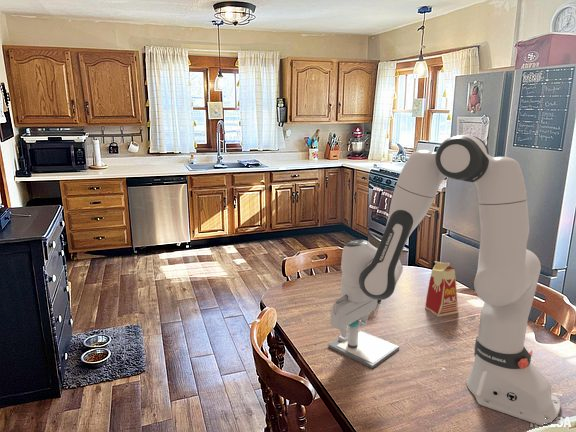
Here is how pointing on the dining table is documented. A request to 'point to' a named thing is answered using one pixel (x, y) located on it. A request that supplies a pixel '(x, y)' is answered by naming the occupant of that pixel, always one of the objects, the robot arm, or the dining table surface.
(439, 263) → the milk carton
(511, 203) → the robot arm
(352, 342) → the glue stick
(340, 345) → the clipboard
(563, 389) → the dining table surface
